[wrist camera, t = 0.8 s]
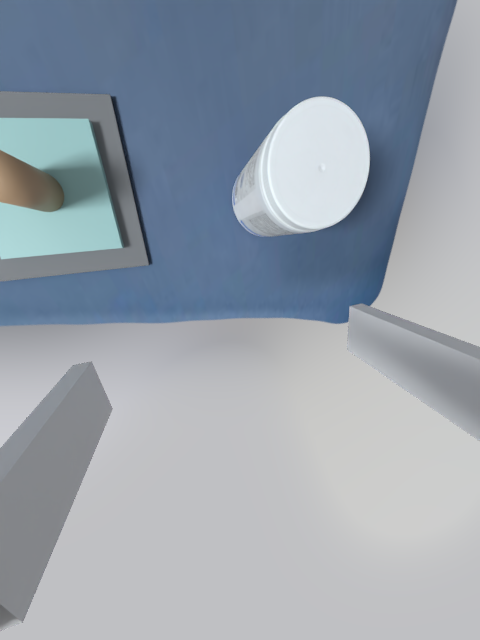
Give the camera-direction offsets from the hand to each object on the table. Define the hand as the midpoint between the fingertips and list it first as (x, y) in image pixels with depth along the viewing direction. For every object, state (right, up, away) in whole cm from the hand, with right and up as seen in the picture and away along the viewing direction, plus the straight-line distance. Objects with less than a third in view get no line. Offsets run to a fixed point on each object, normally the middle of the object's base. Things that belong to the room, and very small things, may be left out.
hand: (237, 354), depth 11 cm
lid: (-22, +16, +14) cm, 30 cm away
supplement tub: (+3, +19, +20) cm, 28 cm away
